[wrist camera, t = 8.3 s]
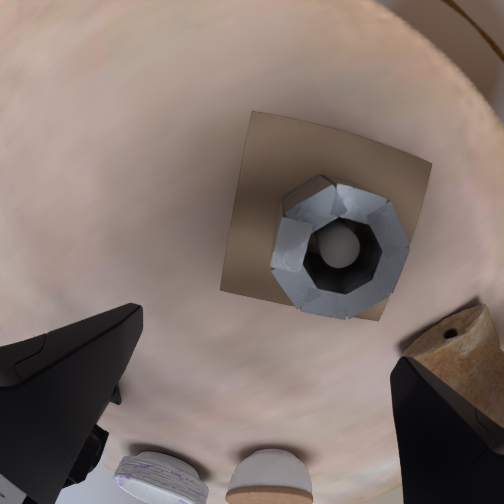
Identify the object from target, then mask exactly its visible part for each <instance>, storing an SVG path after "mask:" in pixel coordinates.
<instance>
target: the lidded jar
mask: <svg viewBox="0 0 504 504" xmlns="http://www.w3.org/2000/svg"><path fill="white" fill-rule="evenodd" d="M225 499H226V501H227V502H228V503H229V504H312V503H313V496H312V483H311V478H310V474H309V472H308V469H307V468H306V466H305V465H304V464H303V463H302V462H301V461H300V460H299V459H298V458H296V457H295V455H294V454H293V453H291V452H289V451H286V450H282V449H262V450H258V451H255V452H254V453H252V454H251V456H249V457H247V458H246V459H244V460H243V461H242V462H241V463H240V464H239V465H238V466H237V467H236V469H235V471H234V473H233V475H232V477H231V480H230V483H229V487H228V492H227V493H226V498H225Z"/></svg>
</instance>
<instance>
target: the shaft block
mask: <svg viewBox="0 0 504 504" xmlns="http://www.w3.org/2000/svg"><path fill="white" fill-rule="evenodd" d="M431 167H432V163H430V162H428V161H425V160H423V159H421V158H418V157H416V156H413V155H411V154H408V153H406V152H403V151H400V150H398V149H395V148H392V147H390V146H387V145H384V144H381V143H378V142H375V141H372V140H369V139H366V138H363V137H360V136H357V135H353V134H350V133H347V132H343V131H340V130H336V129H333V128H329V127H325V126H321V125H317V124H313V123H309V122H305V121H301V120H296V119H292V118H287V117H282V116H277V115H272V114H266V113H261V112H255V111H252V113H251V118H250V123H249V128H248V133H247V138H246V143H245V148H244V154H243V159H242V164H241V169H240V175H239V180H238V186H237V191H236V197H235V202H234V208H233V214H232V219H231V225H230V231H229V237H228V243H227V249H226V255H225V261H224V267H223V273H222V280H221V286H220V290H221V291H225V292H229V293H234V294H238V295H243V296H247V297H252V298H257V299H261V300H266V301H271V302H276V303H280V304H285V305H290V306H294V304H293V303H292V301H291V300H290V298H289V297H288V296H287V294H286V293H285V291H284V290H283V288H282V287H281V285H280V284H279V282H278V281H277V280H276V278H275V277H274V275H273V274H272V272H271V267H270V263H271V254H272V245H273V236H274V231H275V226H276V222H277V218H278V213H279V209H280V205H281V200H282V198H284V195H285V194H286V193H288V192H289V191H291V190H293V189H294V188H296V187H298V186H299V185H301V184H303V183H304V182H306V181H308V180H309V179H311V178H313V177H314V176H316V175H317V174H318V175H320V176H321V174H325V175H328V176H332V177H336V178H339V179H343V180H347V181H350V182H354V183H357V184H360V185H362V186H364V187H366V188H368V189H370V190H372V191H374V192H376V193H378V194H380V195H382V196H384V197H386V198H387V199H388V200H390V201H391V203H392V205H393V207H394V209H395V211H396V213H397V216H398V218H399V220H400V223H401V225H402V227H403V229H404V232H405V234H406V237H407V239H408V242H409V244H410V242H411V239H412V236H413V233H414V230H415V227H416V224H417V220H418V217H419V214H420V210H421V207H422V203H423V200H424V196H425V192H426V188H427V184H428V180H429V176H430V172H431ZM356 226H357V223H356V221H353V220H350V219H346V218H342V217H338V218H337V219H335V220H333V221H332V222H330V223H328V224H327V225H325V226H323V227H322V228H320V229H318V230H316V231H315V232H313V233H311V234H310V238H309V242H308V245H307V250H308V251H309V252H311V253H315V254H320V255H322V258H323V260H324V261H325V262H326V263H327V264H328V265H330V266H332V267H335V268H343V267H346V266H348V265H350V264H352V263H353V262H354V261H355V260H356V258H357V256H358V254H359V251H360V244H359V241H358V238H357V237H356V236H355V234H354V233H355V229H356ZM407 247H408V248H409V246H407ZM388 294H389V297H390V294H391V293H390V292H388ZM389 297H388V298H386V299H384V300H383V301H381V302H379V303H377V304H375V305H374V306H372V307H370V308H368V309H367V310H365V311H363V312H361V313H359V314H357V315H355V316H354V317H356V318H361V319H368V320H374V321H379V319H380V317H381V315H382V313H383V310H384V308H385V306H386V304H387V301H388V299H389Z"/></svg>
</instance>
